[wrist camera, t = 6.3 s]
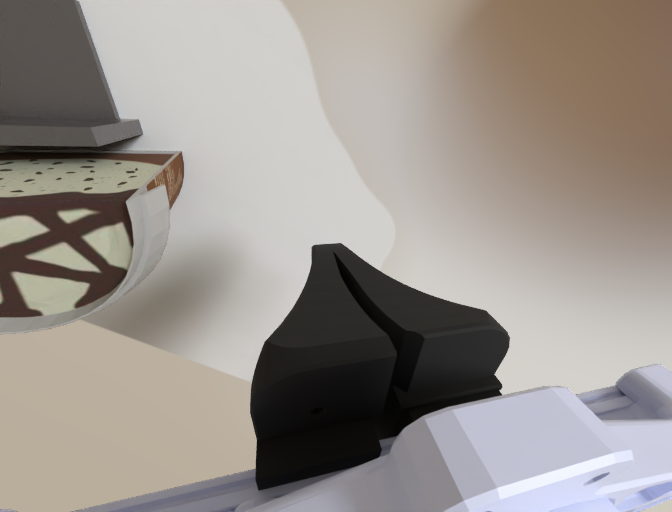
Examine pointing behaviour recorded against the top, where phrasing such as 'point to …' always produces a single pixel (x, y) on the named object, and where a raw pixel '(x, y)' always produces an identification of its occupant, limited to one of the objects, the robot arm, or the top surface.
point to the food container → (79, 229)
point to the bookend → (54, 79)
